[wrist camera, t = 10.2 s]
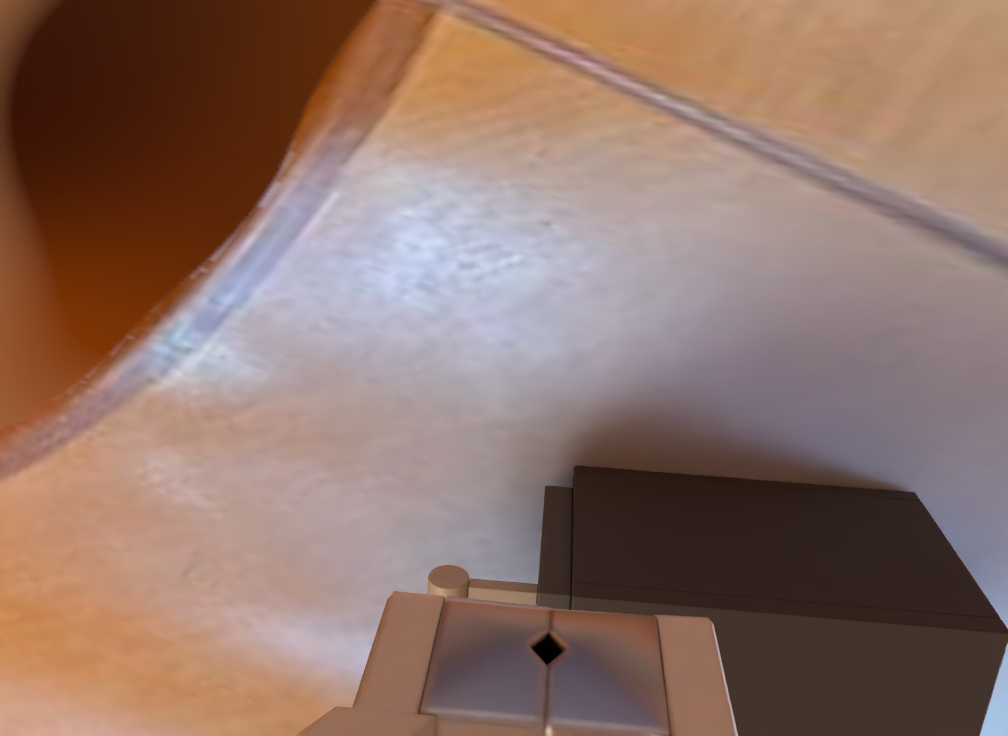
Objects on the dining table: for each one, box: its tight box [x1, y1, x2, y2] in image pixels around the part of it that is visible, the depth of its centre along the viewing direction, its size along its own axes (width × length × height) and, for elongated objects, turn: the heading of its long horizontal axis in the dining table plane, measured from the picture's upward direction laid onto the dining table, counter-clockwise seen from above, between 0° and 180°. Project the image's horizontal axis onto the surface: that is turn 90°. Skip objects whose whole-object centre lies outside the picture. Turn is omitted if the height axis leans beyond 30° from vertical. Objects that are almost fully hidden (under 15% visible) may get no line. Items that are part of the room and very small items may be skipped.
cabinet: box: [570, 466, 1008, 736], centre depth 38 cm, size 15×12×10 cm
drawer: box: [428, 486, 573, 610], centre depth 38 cm, size 18×10×8 cm, turn 88°
